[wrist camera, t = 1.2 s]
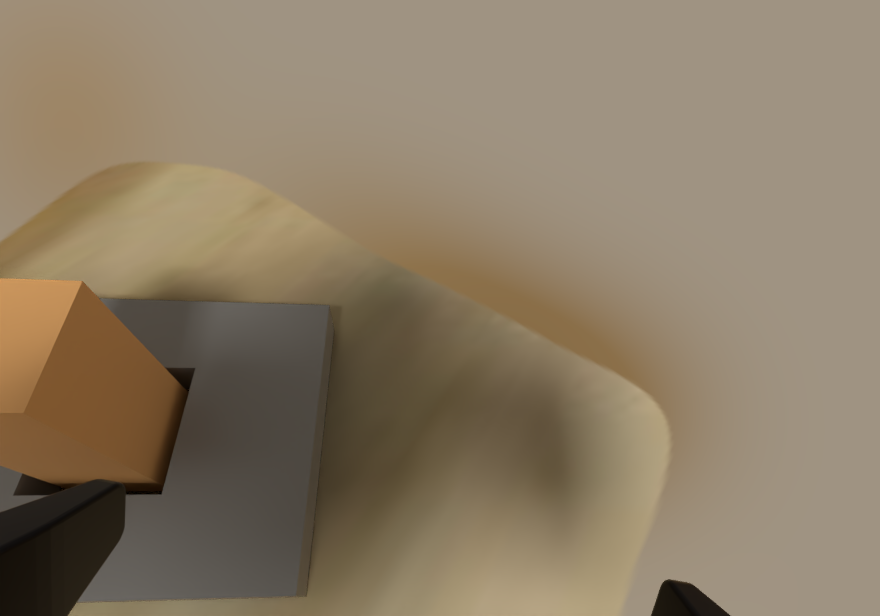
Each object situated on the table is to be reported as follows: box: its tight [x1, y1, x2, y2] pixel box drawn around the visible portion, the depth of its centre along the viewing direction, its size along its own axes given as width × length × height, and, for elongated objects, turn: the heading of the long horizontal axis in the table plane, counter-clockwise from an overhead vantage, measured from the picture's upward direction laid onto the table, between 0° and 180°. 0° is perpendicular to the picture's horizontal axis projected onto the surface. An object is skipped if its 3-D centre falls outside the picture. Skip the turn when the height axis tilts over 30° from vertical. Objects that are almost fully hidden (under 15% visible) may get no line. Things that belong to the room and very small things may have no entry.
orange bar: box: [0, 278, 188, 491], centre depth 17 cm, size 4×4×10 cm
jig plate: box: [0, 298, 334, 603], centre depth 20 cm, size 12×16×2 cm
